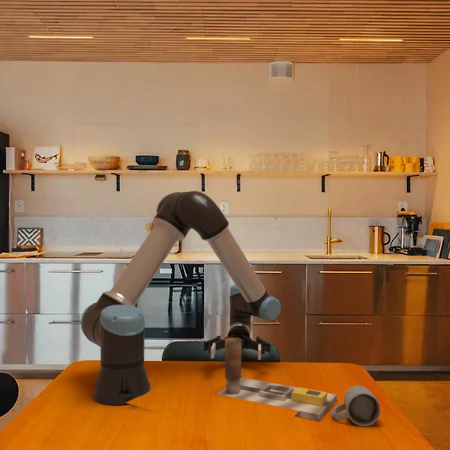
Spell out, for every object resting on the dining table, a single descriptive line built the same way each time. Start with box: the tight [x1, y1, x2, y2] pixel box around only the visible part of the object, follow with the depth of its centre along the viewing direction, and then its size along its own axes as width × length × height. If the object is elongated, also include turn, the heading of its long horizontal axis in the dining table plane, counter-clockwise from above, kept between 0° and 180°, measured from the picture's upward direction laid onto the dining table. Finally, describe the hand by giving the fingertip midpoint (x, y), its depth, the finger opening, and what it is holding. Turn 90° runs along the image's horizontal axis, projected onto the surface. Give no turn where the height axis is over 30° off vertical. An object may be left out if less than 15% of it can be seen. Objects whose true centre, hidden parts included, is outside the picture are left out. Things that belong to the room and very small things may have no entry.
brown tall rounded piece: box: [224, 338, 242, 394], centre depth 129 cm, size 4×4×14 cm
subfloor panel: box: [216, 377, 338, 422], centre depth 127 cm, size 28×15×3 cm, turn 62°
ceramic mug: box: [331, 385, 381, 427], centre depth 116 cm, size 11×8×8 cm
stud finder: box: [292, 386, 328, 406], centre depth 123 cm, size 8×4×2 cm, turn 61°
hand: (235, 354), depth 138 cm, fingers open, 13 cm apart
